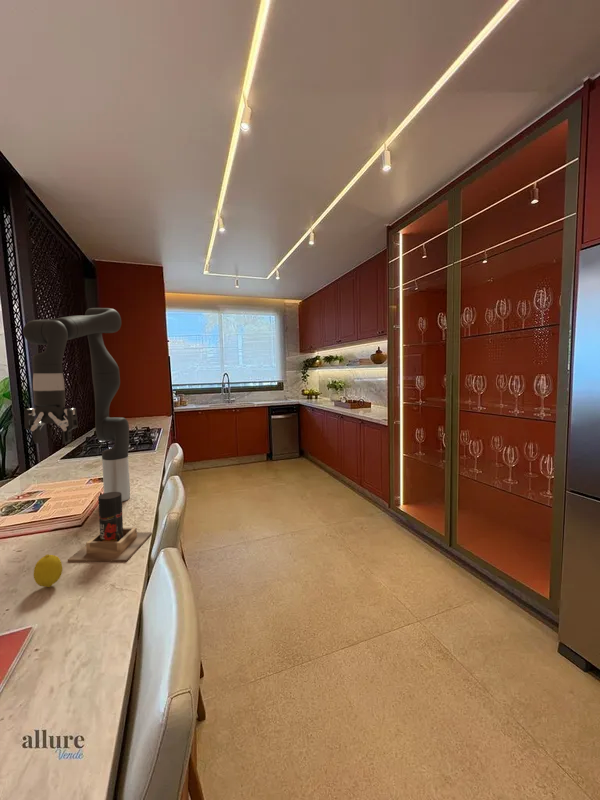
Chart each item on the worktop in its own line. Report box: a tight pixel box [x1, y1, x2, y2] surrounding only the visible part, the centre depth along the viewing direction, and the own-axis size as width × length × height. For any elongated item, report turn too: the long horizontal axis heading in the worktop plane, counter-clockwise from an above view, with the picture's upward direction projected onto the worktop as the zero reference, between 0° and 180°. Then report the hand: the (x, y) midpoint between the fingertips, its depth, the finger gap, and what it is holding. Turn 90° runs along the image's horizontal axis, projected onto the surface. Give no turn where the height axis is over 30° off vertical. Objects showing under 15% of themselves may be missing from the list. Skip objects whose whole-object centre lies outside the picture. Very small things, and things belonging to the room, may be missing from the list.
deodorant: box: [98, 492, 124, 541], centre depth 101 cm, size 6×6×15 cm
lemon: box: [33, 553, 63, 588], centre depth 82 cm, size 6×6×8 cm
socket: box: [67, 527, 153, 563], centre depth 102 cm, size 16×16×4 cm
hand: (52, 443), depth 103 cm, fingers open, 8 cm apart
